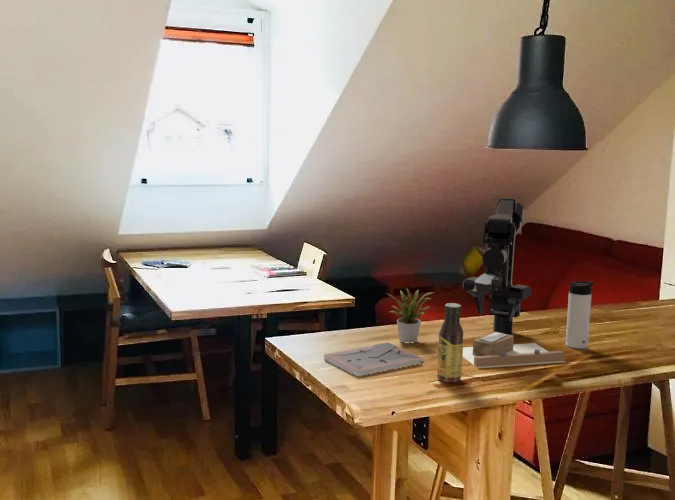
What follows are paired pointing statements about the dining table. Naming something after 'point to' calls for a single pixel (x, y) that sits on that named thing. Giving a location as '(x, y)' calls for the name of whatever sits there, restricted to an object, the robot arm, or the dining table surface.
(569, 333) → the travel mug
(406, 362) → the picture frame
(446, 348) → the sauce bottle
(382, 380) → the dining table surface
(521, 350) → the wall board
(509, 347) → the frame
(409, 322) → the house plant
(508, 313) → the robot arm
